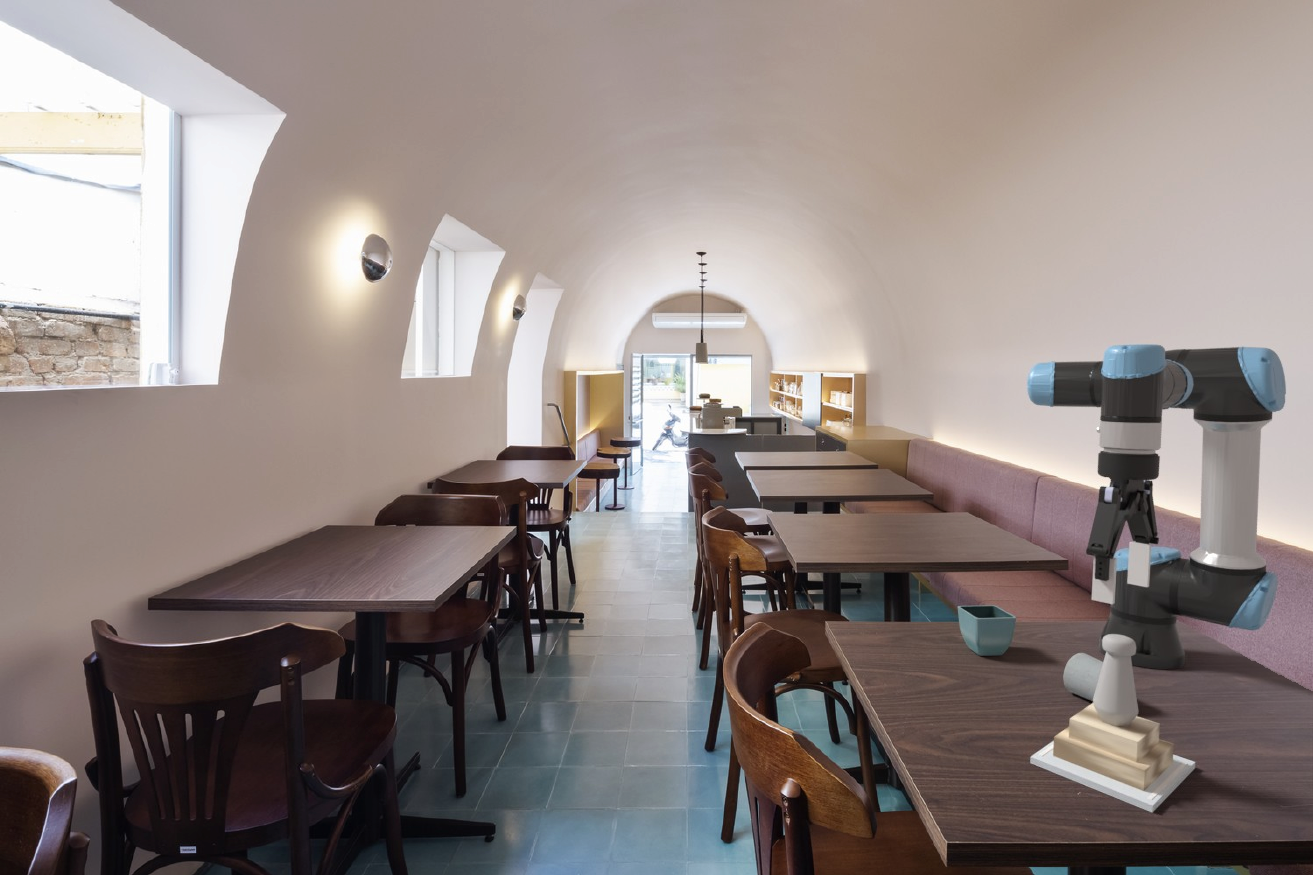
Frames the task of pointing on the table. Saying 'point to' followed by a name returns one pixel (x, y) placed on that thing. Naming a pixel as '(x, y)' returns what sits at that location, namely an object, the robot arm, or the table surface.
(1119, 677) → the salt shaker
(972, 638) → the flower pot
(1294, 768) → the table surface
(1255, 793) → the table surface
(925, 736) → the table surface
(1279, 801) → the table surface
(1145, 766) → the birch plinth
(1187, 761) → the board
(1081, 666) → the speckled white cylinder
